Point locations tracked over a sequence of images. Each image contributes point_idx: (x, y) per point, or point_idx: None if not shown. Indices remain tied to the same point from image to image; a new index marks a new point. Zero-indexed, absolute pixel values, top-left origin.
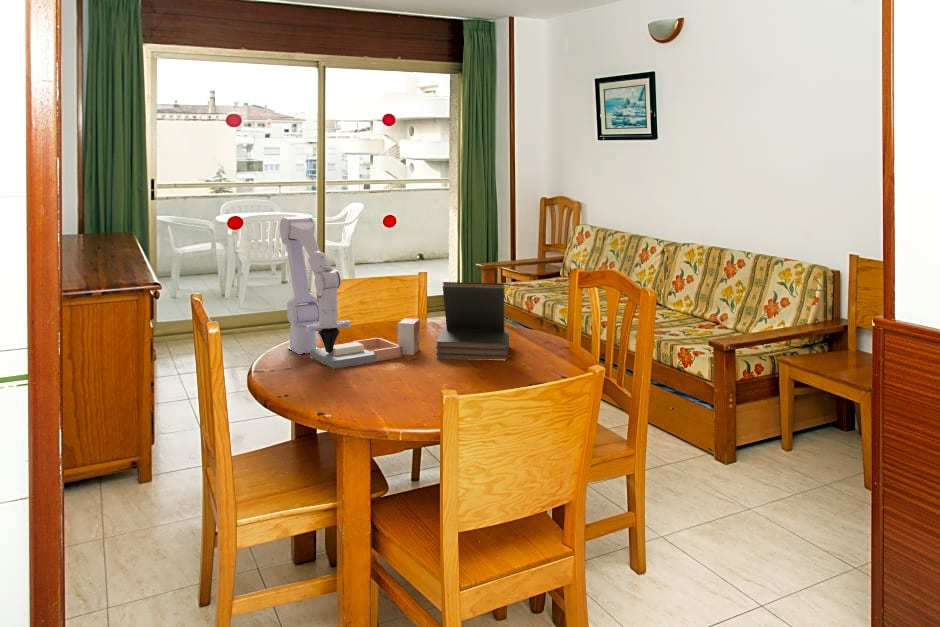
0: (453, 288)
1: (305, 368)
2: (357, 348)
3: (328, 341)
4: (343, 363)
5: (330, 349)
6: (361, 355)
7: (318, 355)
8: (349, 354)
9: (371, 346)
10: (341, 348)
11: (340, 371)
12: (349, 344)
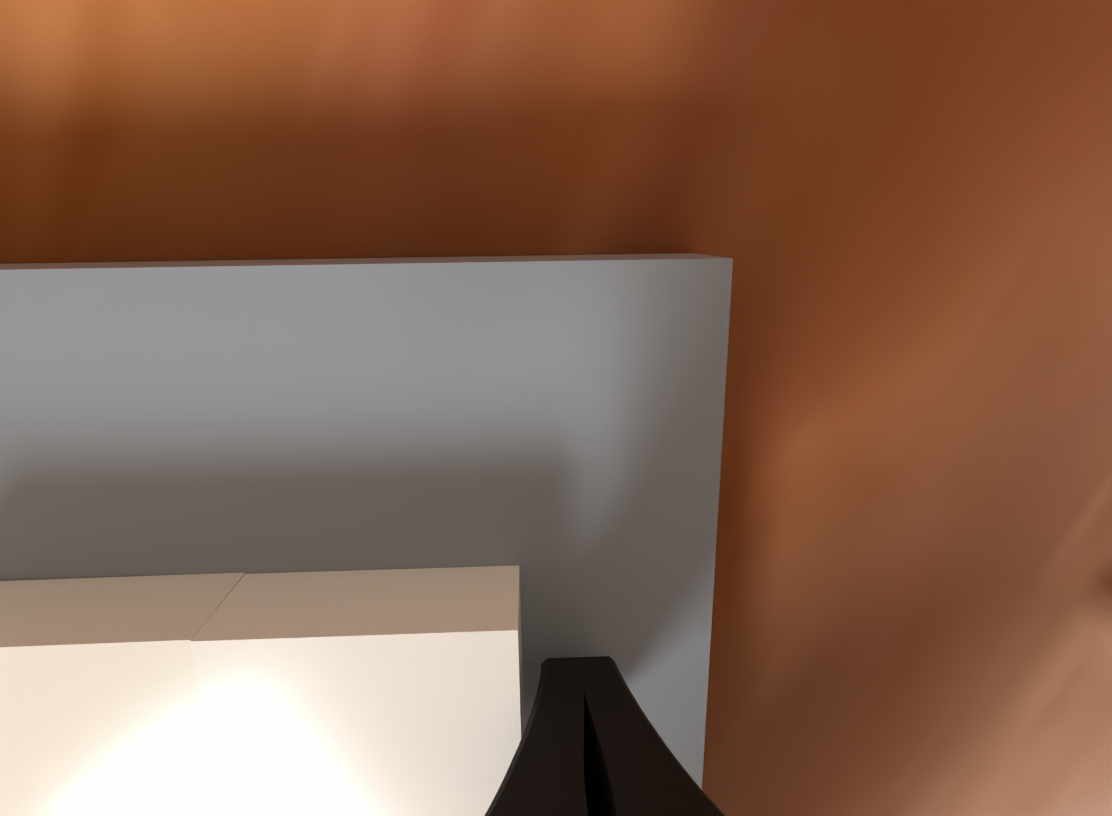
0: None
1: (975, 485)
2: (49, 614)
3: (680, 808)
4: (524, 258)
5: (589, 685)
6: (105, 334)
7: (696, 739)
8: (285, 508)
9: None
10: (386, 633)
11: (675, 60)
12: (129, 803)
